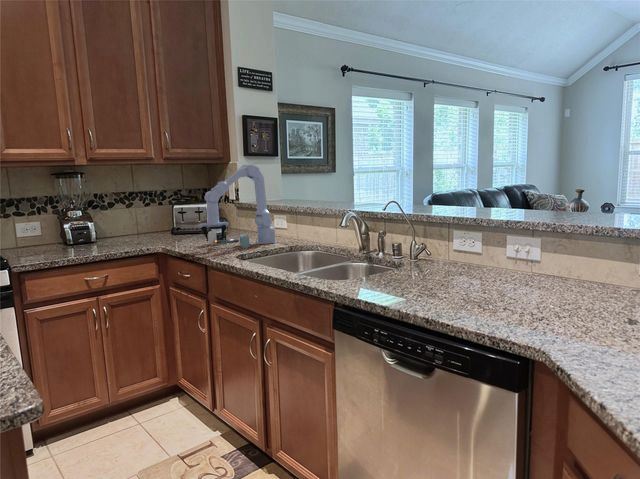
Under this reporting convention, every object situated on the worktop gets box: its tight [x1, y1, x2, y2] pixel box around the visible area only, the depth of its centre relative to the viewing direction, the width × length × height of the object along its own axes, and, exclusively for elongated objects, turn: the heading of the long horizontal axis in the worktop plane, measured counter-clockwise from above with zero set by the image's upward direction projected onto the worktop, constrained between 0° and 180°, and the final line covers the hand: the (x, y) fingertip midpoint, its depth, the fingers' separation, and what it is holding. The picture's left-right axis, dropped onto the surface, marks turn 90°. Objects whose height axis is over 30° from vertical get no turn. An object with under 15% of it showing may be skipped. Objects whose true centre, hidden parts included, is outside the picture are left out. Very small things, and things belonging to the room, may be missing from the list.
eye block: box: [239, 233, 250, 249], centre depth 248 cm, size 4×10×6 cm, turn 15°
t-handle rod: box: [212, 238, 240, 247], centre depth 246 cm, size 14×9×3 cm, turn 105°
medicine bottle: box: [207, 225, 228, 246], centre depth 258 cm, size 7×7×12 cm
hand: (215, 240), depth 241 cm, fingers open, 7 cm apart
